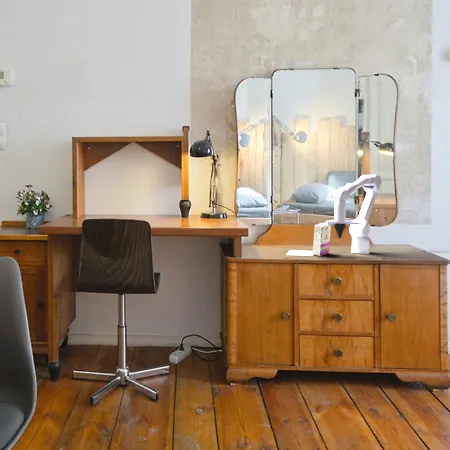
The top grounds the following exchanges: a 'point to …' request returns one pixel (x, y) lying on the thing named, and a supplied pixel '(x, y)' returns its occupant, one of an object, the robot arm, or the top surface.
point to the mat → (300, 253)
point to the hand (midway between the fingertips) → (339, 237)
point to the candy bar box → (321, 239)
